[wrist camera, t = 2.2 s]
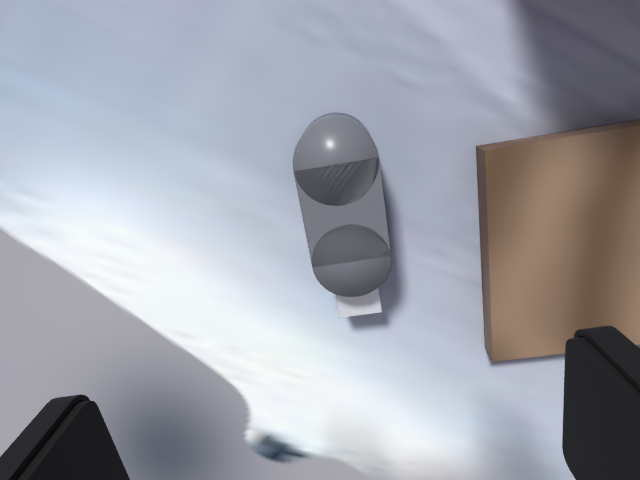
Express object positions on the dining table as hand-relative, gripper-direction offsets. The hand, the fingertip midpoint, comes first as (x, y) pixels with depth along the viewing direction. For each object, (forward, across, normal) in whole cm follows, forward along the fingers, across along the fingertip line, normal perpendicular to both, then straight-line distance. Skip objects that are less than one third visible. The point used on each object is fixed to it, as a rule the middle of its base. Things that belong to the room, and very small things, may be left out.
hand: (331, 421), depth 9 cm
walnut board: (+17, -15, +5) cm, 23 cm away
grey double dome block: (+17, -1, 0) cm, 17 cm away
